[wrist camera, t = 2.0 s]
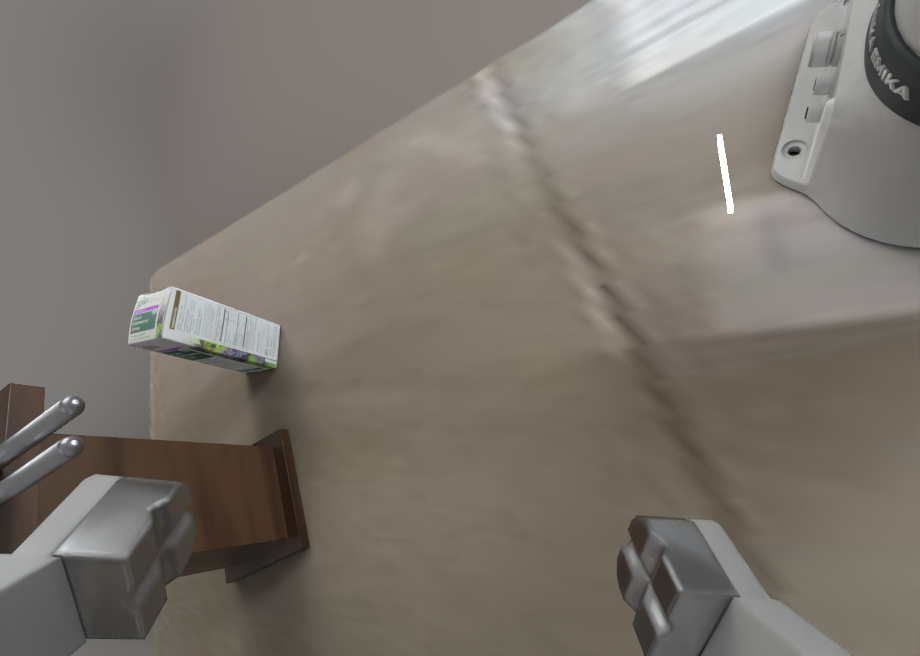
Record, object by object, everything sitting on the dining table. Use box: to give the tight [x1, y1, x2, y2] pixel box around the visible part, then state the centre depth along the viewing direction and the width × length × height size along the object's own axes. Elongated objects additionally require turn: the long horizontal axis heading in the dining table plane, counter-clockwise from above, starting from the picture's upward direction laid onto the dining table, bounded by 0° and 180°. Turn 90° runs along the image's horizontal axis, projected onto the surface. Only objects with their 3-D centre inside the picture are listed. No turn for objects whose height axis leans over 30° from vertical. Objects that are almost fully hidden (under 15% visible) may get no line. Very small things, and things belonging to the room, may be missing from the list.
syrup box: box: [128, 286, 280, 373], centre depth 53 cm, size 6×6×14 cm
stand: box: [0, 383, 310, 583], centre depth 42 cm, size 12×14×26 cm
